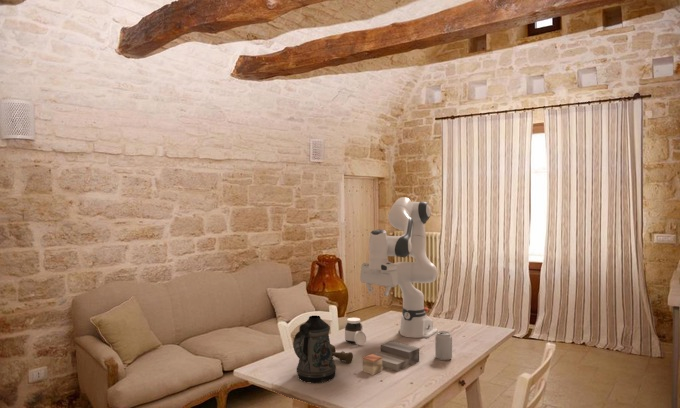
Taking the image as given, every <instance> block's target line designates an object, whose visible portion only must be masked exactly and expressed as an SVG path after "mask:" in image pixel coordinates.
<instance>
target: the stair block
mask: <svg viewBox="0 0 680 408" xmlns="http://www.w3.org/2000/svg"><path fill="white" fill-rule="evenodd" d="M372 354H373V355H377V356H380V357H382V368H384V369H387V370H392V371H394V372H400V371H401V370H404V369H406V368H407V367H410V366H412V365H414V364H416V363H420V347H416V346H414V345H409V344H404V343H400V342H398V341H394V340H389V341H387V342H384V343H381V344H380V351H378V352H377V351H376V352H375V353H372Z"/></svg>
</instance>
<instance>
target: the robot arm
mask: <svg viewBox="0 0 680 408" xmlns="http://www.w3.org/2000/svg"><path fill="white" fill-rule="evenodd" d="M431 216H432V211H431V205H430V204H429V203H428V202H427V201H412V200H411V199H410V198H409V197H406V196H405V197H404V196H402V197H398V198H397V199H396V201H394V203H393V204H392V206H391V207H390V210H389V211H388V215H387V220H388V223H389V224H390V225H391V226H392V227H393V228H395V229H397V230H399V231H402V235H388V234H387V230H385V229H373V230H371V231H370V233H369V239H368V251H369V257H368V263H367V262H363V263H362V264H361V267H360V273H359V274H360V275H359V281H360V282H361V283H364V284H366V285H365V286H366V288H367V290H368V291H367V292H368V293H369V294H373V293H374V288H372V286H371V285H377V286H380V287H381V286H382V287H385V289H386V290H385V291H384V292H383V295H384V296H385V297H388V296H390V291H391V289H392V288H395V287H397V286H399V288H400V290H401V293H402V310H401V313H402V316H401V319H400V328H399V329H398V332H399V334H400V335H401V336H403V337H406V338H414V339H415V338H416V339H417V338H419V339H421V338H424V339H425V338H427V339H428V338H430V337H431V336H433V335H434V334H435V333H436V334H437V332H438V331H439V330H438V328H436V327H434V321H433V319H431V318H430V317H429V316H428V315H427V313H428V312H429V308H428V307H424V305H425V302H424V301H425V299H424V298H425V296H424V293H423V291H421V290H420V289H418V288H416V287H415V285H414V284H413V283H415V284H430V283H434V282H435V281H436V280H437V278H438V276H439V275H438V274H439V271H438V268H437V266H436V265H435V264H434V263H432V262H431V260H430V259H429V257H428V256H427V253H426V225H425V224H427V221H428V220H429V219H430V218H431ZM408 256H409V257H411V258H413V259H414V261H413V262H412V261H398V262H394V263H393V262H391V261H389V258H388V257H398V258H405V259H406V257H408Z"/></svg>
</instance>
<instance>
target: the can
mask: <svg viewBox="0 0 680 408" xmlns="http://www.w3.org/2000/svg"><path fill="white" fill-rule="evenodd" d="M434 339H435V347H434V348H435V350H434V351H435V357H436V358H437V359H438V360H440V361H449V360H451V359H452V358H453V336H452V333H451V332H449V331H448V330H447V331H446V330H438V331H437V332H436V335H435V337H434Z"/></svg>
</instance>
